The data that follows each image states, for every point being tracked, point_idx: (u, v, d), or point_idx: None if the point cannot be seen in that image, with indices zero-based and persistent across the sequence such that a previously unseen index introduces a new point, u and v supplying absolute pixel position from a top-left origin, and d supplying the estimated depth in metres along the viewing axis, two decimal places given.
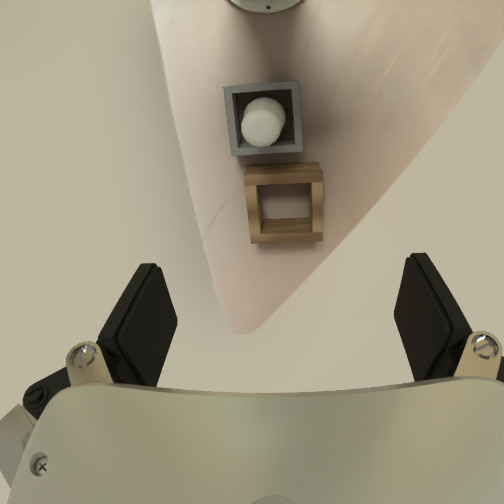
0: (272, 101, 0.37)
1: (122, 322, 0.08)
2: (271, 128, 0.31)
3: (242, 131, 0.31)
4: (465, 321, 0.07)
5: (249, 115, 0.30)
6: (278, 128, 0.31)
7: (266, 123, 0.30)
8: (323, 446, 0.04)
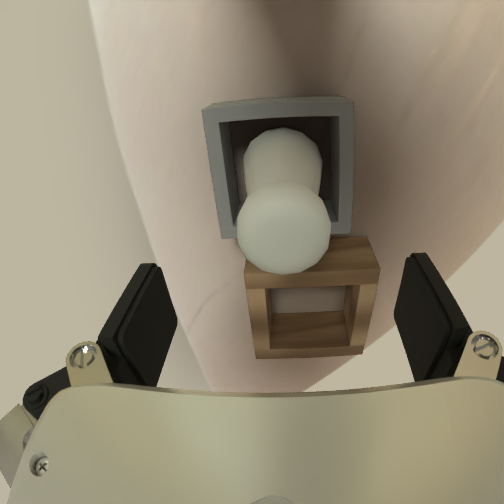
0: (300, 139, 0.19)
1: (122, 322, 0.08)
2: (312, 240, 0.13)
3: (239, 241, 0.14)
4: (465, 321, 0.07)
5: (257, 205, 0.13)
6: (327, 237, 0.13)
7: (300, 229, 0.13)
8: (323, 446, 0.04)
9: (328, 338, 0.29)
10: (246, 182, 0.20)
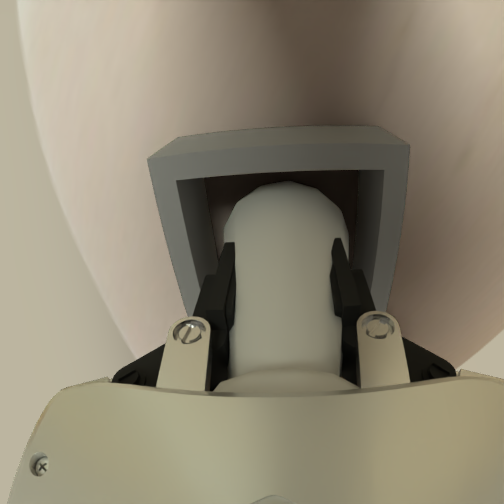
0: (317, 208, 0.12)
1: (227, 295, 0.09)
2: None
3: None
4: (358, 300, 0.08)
5: None
6: None
7: None
8: (323, 446, 0.04)
9: None
10: None
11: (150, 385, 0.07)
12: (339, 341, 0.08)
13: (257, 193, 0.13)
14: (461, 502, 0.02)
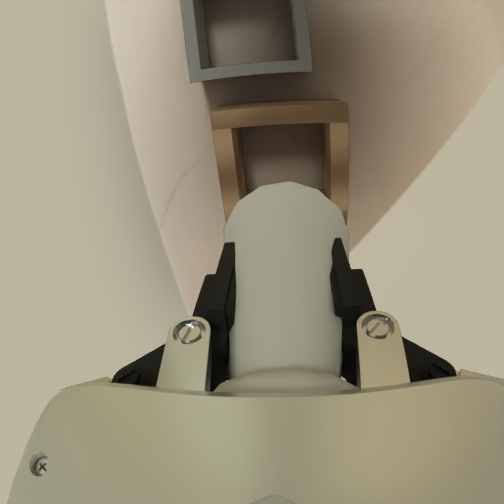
0: (317, 209, 0.12)
1: (227, 295, 0.09)
2: None
3: None
4: (358, 300, 0.08)
5: None
6: None
7: None
8: (323, 446, 0.04)
9: None
10: None
11: (150, 385, 0.07)
12: (339, 342, 0.08)
13: (257, 193, 0.13)
14: (461, 502, 0.02)
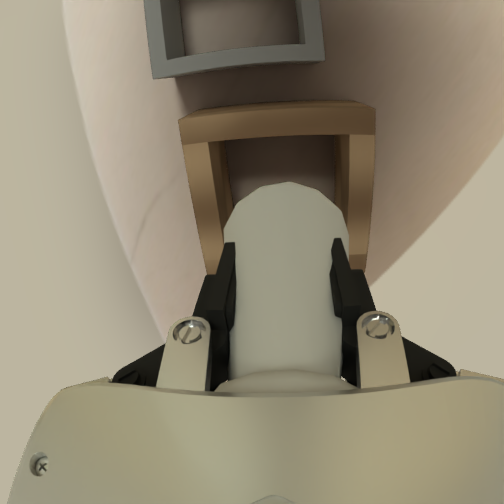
0: (317, 209, 0.12)
1: (227, 295, 0.09)
2: None
3: None
4: (358, 300, 0.08)
5: None
6: None
7: None
8: (323, 446, 0.04)
9: None
10: None
11: (150, 385, 0.07)
12: (339, 342, 0.08)
13: (257, 194, 0.13)
14: (461, 502, 0.02)
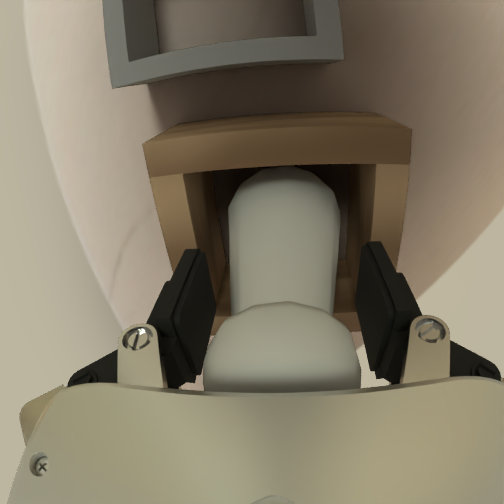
0: (311, 187, 0.13)
1: (177, 303, 0.09)
2: None
3: None
4: (409, 304, 0.08)
5: (234, 366, 0.07)
6: None
7: None
8: (323, 446, 0.04)
9: None
10: (230, 253, 0.14)
11: None
12: (328, 291, 0.09)
13: (259, 175, 0.14)
14: (461, 502, 0.02)
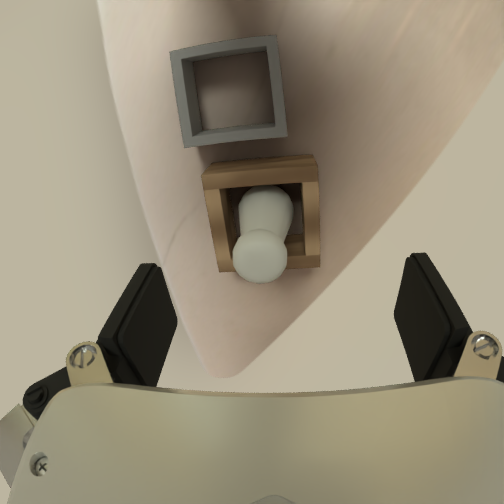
0: (276, 194, 0.30)
1: (122, 322, 0.08)
2: (274, 263, 0.23)
3: (234, 264, 0.24)
4: (465, 321, 0.07)
5: (243, 244, 0.23)
6: (284, 261, 0.23)
7: (267, 257, 0.23)
8: (323, 446, 0.04)
9: None
10: (240, 224, 0.30)
11: None
12: (277, 230, 0.26)
13: (252, 189, 0.31)
14: (461, 502, 0.02)
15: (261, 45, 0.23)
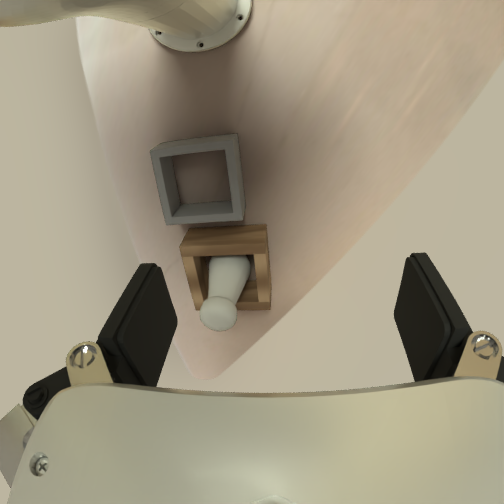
0: (235, 259, 0.40)
1: (122, 322, 0.08)
2: (226, 321, 0.34)
3: (200, 319, 0.35)
4: (465, 321, 0.07)
5: (206, 308, 0.34)
6: (233, 319, 0.34)
7: (221, 317, 0.34)
8: (323, 446, 0.04)
9: (245, 296, 0.44)
10: None
11: None
12: (232, 293, 0.37)
13: None
14: (461, 502, 0.02)
15: (221, 149, 0.33)
